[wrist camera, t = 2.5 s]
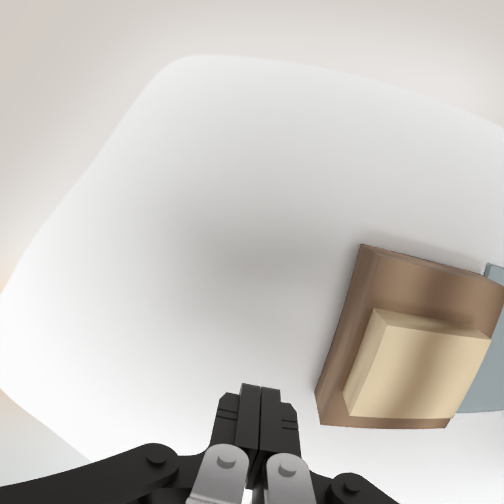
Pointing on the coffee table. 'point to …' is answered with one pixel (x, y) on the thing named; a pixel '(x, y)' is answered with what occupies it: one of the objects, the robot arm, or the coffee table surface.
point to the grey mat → (489, 366)
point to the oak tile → (413, 367)
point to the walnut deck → (402, 301)
